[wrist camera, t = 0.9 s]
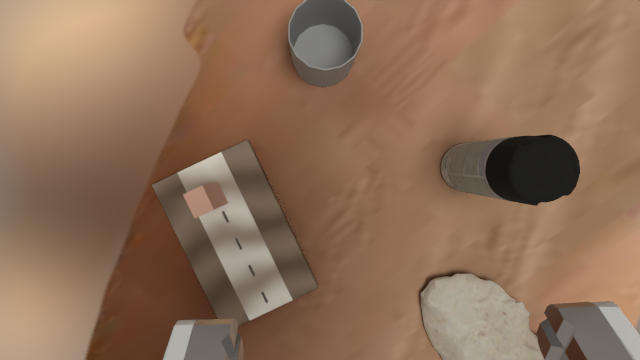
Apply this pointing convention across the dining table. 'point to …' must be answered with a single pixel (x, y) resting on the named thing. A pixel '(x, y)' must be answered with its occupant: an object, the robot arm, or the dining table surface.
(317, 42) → the cup
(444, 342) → the fragment
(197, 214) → the stub
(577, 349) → the robot arm
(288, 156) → the dining table surface
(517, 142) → the spray can
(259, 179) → the board with dashed strip
